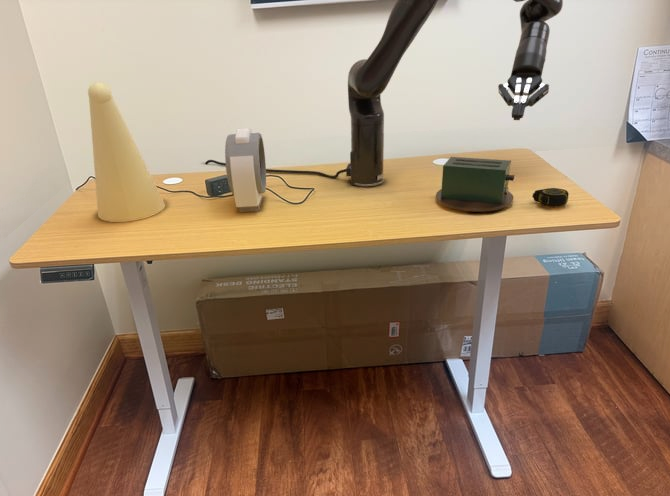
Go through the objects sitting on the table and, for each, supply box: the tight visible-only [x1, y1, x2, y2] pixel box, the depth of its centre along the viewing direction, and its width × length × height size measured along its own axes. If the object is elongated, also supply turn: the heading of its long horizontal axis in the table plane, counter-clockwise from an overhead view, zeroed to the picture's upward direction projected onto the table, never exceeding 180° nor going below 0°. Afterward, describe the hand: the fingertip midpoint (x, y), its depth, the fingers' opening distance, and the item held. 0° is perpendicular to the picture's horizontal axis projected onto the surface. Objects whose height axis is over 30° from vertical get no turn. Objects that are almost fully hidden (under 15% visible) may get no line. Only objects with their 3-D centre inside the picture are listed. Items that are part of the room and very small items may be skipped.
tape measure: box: [532, 187, 569, 208], centre depth 131 cm, size 7×7×4 cm
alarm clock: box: [224, 127, 267, 213], centre depth 141 cm, size 18×8×20 cm, turn 179°
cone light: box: [87, 81, 166, 223], centre depth 137 cm, size 25×18×35 cm
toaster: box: [435, 156, 516, 213], centre depth 135 cm, size 19×19×9 cm
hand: (516, 118), depth 136 cm, fingers closed
